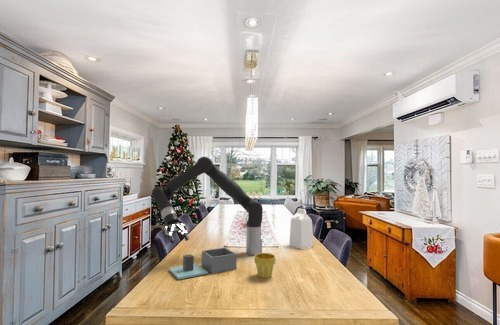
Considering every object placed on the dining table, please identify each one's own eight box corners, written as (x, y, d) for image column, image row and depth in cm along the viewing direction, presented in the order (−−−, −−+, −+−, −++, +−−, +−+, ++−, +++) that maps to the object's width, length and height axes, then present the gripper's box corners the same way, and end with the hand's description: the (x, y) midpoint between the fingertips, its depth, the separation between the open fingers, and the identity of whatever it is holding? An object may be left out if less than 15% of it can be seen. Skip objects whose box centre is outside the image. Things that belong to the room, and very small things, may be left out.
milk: (313, 247, 192) (313, 209, 193) (301, 249, 185) (301, 210, 186) (301, 243, 202) (301, 207, 203) (289, 245, 195) (289, 208, 196)
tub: (224, 261, 157) (225, 247, 158) (236, 269, 145) (236, 253, 146) (201, 265, 150) (201, 250, 150) (211, 273, 138) (212, 257, 138)
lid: (196, 266, 149) (196, 250, 150) (207, 275, 137) (208, 257, 137) (168, 271, 141) (169, 254, 142) (178, 281, 129) (178, 262, 129)
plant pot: (273, 280, 130) (274, 259, 131) (252, 278, 133) (252, 258, 133) (276, 272, 141) (276, 253, 141) (256, 271, 143) (256, 252, 143)
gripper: (160, 213, 146) (171, 239, 138) (183, 211, 156) (194, 235, 148) (155, 222, 150) (165, 247, 141) (178, 219, 160) (189, 243, 152)
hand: (180, 241), depth 145 cm, fingers open, 8 cm apart
